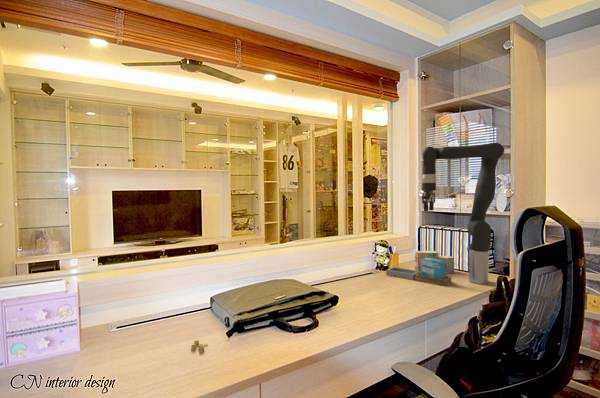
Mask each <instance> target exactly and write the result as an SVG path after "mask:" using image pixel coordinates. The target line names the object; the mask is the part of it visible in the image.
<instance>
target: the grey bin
mask: <svg viewBox="0 0 600 398" xmlns="http://www.w3.org/2000/svg"><path fill="white" fill-rule="evenodd" d="M385 272H386V273H385V274H386V276H389V277H395V278H400V279H405V280H411V281H415V275H416V274H418V273H420V271H416V270H415V269H409V268H404V267H398V266H397V267H396V266H392V267H390V268H388V269H386V271H385Z"/></svg>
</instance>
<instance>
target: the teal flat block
mask: <svg viewBox="0 0 600 398" xmlns="http://www.w3.org/2000/svg"><path fill="white" fill-rule="evenodd" d="M421 276H426V277H431V278H437V279H443V280H445V279H446V276H447V273H446V262H445V261H443V260H438V259H432V258H424V259H422V260H421Z"/></svg>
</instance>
